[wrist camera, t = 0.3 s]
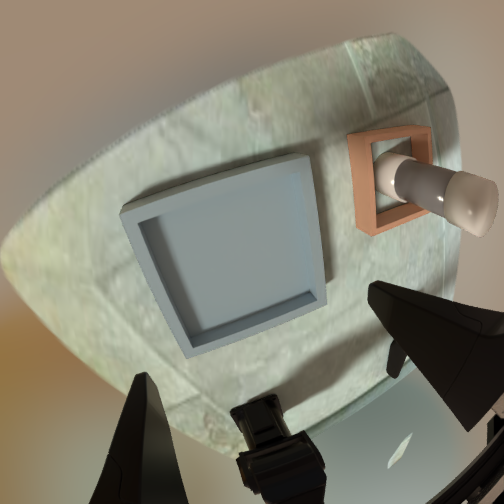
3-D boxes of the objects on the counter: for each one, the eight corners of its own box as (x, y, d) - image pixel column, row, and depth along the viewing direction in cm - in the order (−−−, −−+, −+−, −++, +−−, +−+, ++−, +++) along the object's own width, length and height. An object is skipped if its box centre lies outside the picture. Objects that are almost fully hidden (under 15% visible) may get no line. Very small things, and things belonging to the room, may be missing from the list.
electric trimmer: (377, 371, 42) (388, 384, 39) (400, 296, 35) (415, 309, 32) (394, 363, 43) (404, 374, 40) (417, 289, 36) (432, 300, 33)
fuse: (402, 189, 28) (494, 228, 17) (373, 198, 27) (470, 245, 16) (400, 149, 25) (500, 176, 15) (369, 155, 25) (476, 186, 14)
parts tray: (315, 291, 29) (327, 304, 27) (182, 341, 27) (186, 359, 24) (294, 152, 22) (309, 155, 20) (122, 205, 20) (118, 214, 18)
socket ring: (416, 204, 29) (432, 211, 27) (356, 227, 27) (371, 236, 25) (413, 124, 25) (430, 127, 23) (346, 134, 23) (364, 136, 21)
